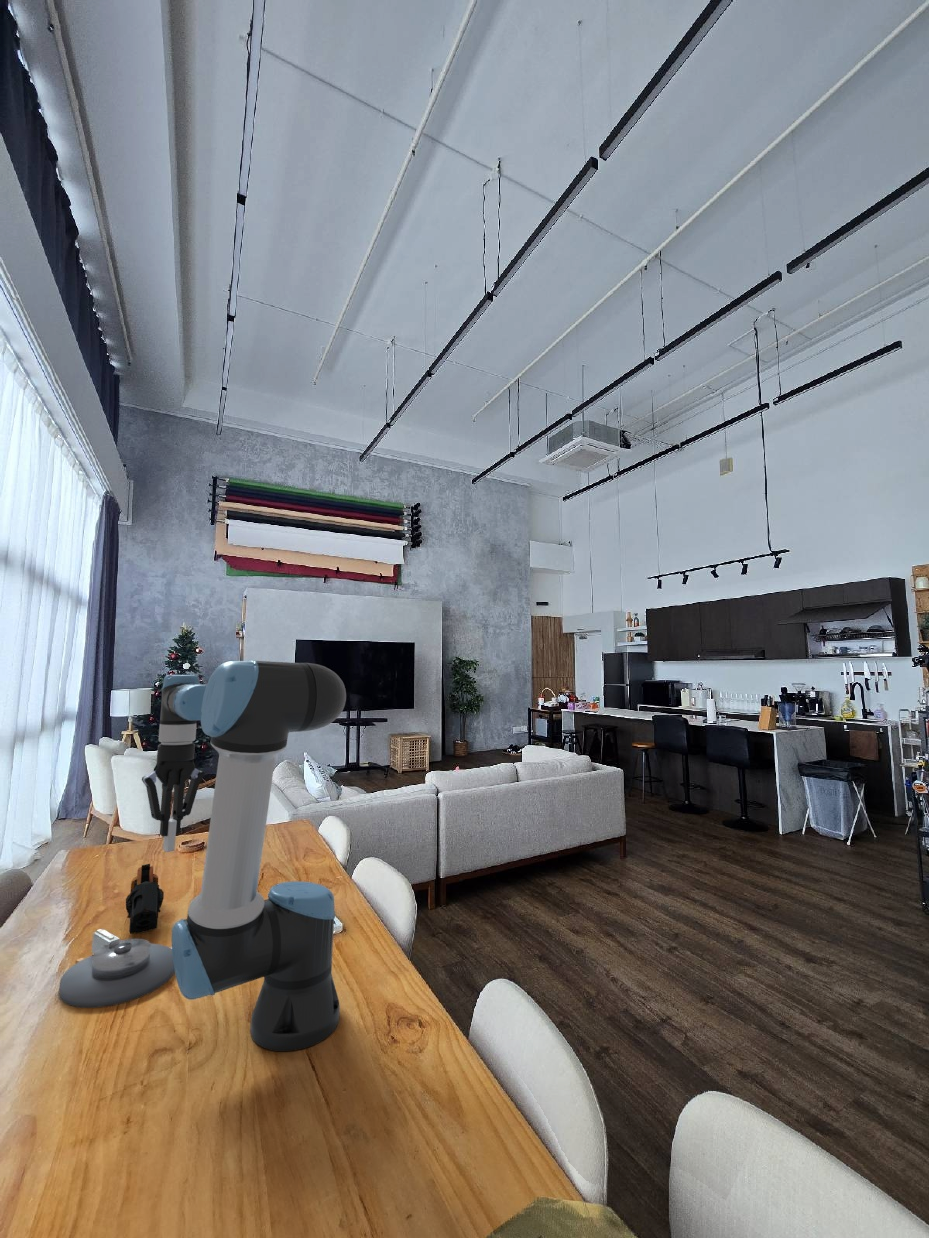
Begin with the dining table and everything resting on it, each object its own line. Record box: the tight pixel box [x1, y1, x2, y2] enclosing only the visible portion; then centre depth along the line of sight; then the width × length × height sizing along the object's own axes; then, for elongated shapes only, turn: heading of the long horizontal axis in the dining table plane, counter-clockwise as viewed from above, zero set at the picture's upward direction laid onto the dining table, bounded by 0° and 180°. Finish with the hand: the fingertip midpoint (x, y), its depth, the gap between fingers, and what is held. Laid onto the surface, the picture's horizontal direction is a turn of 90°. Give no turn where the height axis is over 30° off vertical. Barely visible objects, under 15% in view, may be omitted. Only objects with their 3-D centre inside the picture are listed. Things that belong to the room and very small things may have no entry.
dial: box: [91, 928, 152, 980], centre depth 112 cm, size 16×10×4 cm, turn 57°
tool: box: [125, 863, 165, 935], centre depth 137 cm, size 8×23×15 cm, turn 30°
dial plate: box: [58, 943, 175, 1009], centre depth 112 cm, size 22×22×2 cm
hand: (168, 849), depth 122 cm, fingers closed
